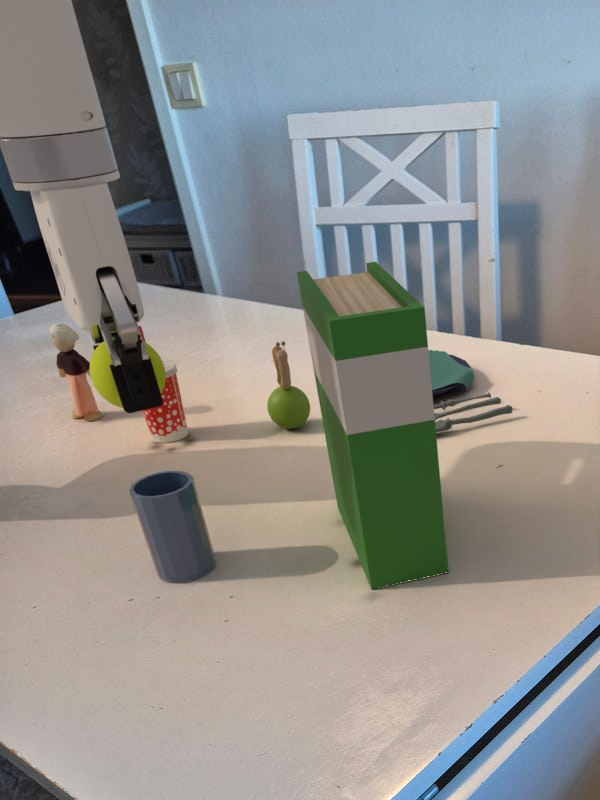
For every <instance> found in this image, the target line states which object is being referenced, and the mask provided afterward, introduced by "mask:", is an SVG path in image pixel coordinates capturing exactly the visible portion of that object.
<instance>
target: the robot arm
mask: <svg viewBox="0 0 600 800" xmlns="http://www.w3.org/2000/svg"><path fill="white" fill-rule="evenodd" d="M103 113H104V112H103V109H102V106H101V103H100V99H99V95H98V91H97V87H96V84H95V81H94V77H93V73H92V70H91V66H90V62H89V59H88V55H87V51H86V48H85V44H84V42H83V36H82V34H81V31H80V26H79V23H78V19H77V16H76V12H75V8H74V5H73V1H72V0H0V150H1V153H2V156H3V159H4V161H5V165H6V168H7V171H8V174H9V176H10V179H11V182H12V185H13V188H14V190H15V191H20V192H21V191H23V192H30V196H31V200H32V204H33V209H34V213H35V216H36V219H37V222H38V226H39V230H40V233H41V236H42V239H43V243H44V246H45V250H46V252H47V255H48V258H49V261H50V264H51V268H52V271H53V274H54V277H55V281H56V284H57V288H58V290H59V291H58V292H59V294H60V297H61V301H62V305H63V307H64V309H65V311H66V312H67V314H68V315H69V317H70V318H71V320H73V321H74V323H75V324H76V325H77V326H78V327H79V328H80V329H82V330H84V331H85V332H88V333H90V336H91V338H92V341H93V344H94V345H93V346H92V348H93V352H94V351H95V349H96V348H97V347H98V346H99V345H100V344H101V343H102V342H104V341H105V344H106V347H107V349H108V352H109V355H110V358H111V360H112V363H113V364H112V365H109V366H110V369H111V372H112V376H113V379H114V382H115V385H116V388H117V391H118V394H119V397H120V400H121V404H122V407H123V408H122V409H123V411H124V412H125V413H127V414H134V413H137V412H138V413H139V412H142V411H143V410H147V409H151V408H155V407H159V406H161V405H162V404H163V400H162V396H161V393H160V389H159V386H158V382H157V379H156V375H155V372H154V369H153V365H152V362H151V358H150V357H149V356H148V352H147V349H146V346H145V344H144V341H143V338H142V335H141V332H140V329H139V327H138V326H139V324H138V323H139V322H141V321H142V319H143V317H145V310H144V304H143V300H142V296H141V292H140V288H139V285H138V281H137V277H136V274H135V270H134V267H133V264H132V260H131V256H130V252H129V249H128V246H127V243H126V239H125V236H124V233H123V229H122V226H121V223H120V220H119V217H118V211H117V209H116V207H115V204H114V201H113V198H112V197H113V196H112V193H111V191H110V188H109V186H108V185H109V184H108V183H110V182H113V181H117V180H119V179H120V178H121V175H120V170H119V169H118V168H119V167H118V163H117V160H116V156H115V153H114V150H113V146H112V142H111V138H110V135H109V132H108V128H107V127H106V126H107V125H106V120H105V116H104V114H103ZM112 337H114V339H115V340H113V338H112Z"/></svg>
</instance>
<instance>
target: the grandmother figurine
mask: <svg viewBox="0 0 600 800" xmlns="http://www.w3.org/2000/svg"><path fill="white" fill-rule="evenodd" d="M48 331H49V334H50V336H51V337H52V342H53V345H54V347H55V348H56V350H58V351H59V352H58V353H57V354H56V367H57V371H58V376H59V377H60V378H66V380H67V381H68V385H69V390H70V394H71V400H72V403H73V404H72V405H73V408H74V411H72V413H71V418H72V419H82V418H83V419H84V421H85V422H94V421H97V420H99V419H100V418H102V417H103V416H104V413H103V412H102V411H101V410H99V407H98V404H97V402H96V398H95V395H94V392H93V389H92V387H91V385H90V384H89V382H88V379H87V375H88V376H89V377H90V379H91V376H90V361H88V360H87V358H86V357H84V356H83V355H82V354H80V353H79V352H78V351H77V350H75V346H76V342H77V340H79V338H80V335H79V334H78V333H77V332H76V331H75V330H74V329H73V328H71V327H70V326H69V325H67V324H66V323H65V324H64V323H55V324H52V325H51V326H50V327H49V330H48Z"/></svg>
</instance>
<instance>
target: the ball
mask: <svg viewBox="0 0 600 800" xmlns="http://www.w3.org/2000/svg"><path fill="white" fill-rule="evenodd" d="M112 338H113V340H115V339H114V337H112ZM144 344H145V346H146V349H147V352H148V356H149V357H150V358H151V362H152V365H153V369H154V372H155V375H156V379H157V382H158V386H159V389H160V393H162V391H163V389H164V386H165V379H166V374H165V368H164V365H163V362H162V360H163V359H162V357H161V356H160V355H159V353H158V352H157V350H156V349H154V348H153V346H152V345H150V344H149V343H147V342H144ZM98 345H99V346H98V347H97V348H96V349H95V351H94V350H93V352H92V354H91V357H90V361H89V362H90V376H91V378H90V380H91V382H92V385H93V387H94V389H95V390H96V392H97V393H98V394H99V396H101V397H102V399H104V400H105V401H107V402H108V403H109V404H111V405H113V406H115V407H118V408H121V409H123V407H122V404H121V400H120V397H119V394H118V391H117V388H116V385H115V382H114V379H113V376H112V372H111V369H110V366H109V365H112V364H113V363H112V360H111V358H110V355H109V352H108V349H107V347H106V344H105V341H104V342H102V343H100V344H98ZM90 376H89V377H90Z"/></svg>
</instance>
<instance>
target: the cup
mask: <svg viewBox="0 0 600 800" xmlns="http://www.w3.org/2000/svg"><path fill="white" fill-rule="evenodd" d="M128 491H129V494H130V498H131V501H132V503H133V507H134V510H135V513H136V515H137V518H138V521H139V525H140V527H141V530H142V534H143V537H144V539H145V543H146V546H147V548H148V552H149V555H150V558H151V561H152V564H153V567H154V570H155V572H156V574H157V576H158V578H159V579H160V580H162V581H163V582H167V583H170V584H172V583H173V584H181V583H189V582H192V581H196V580H199V579H201V578H203V577H205V576H207V575H208V574H210V573H211V572H212V571H213V570H214V568H215V567H216V564H217V559H216V554H215V551H214V547H213V544H212V539H211V537H210V533H209V530H208V529H209V528H208V526H207V522H206V519H205V516H204V512H203V508H202V505H201V500H200V498H199V494H198V490H197V487H196V483H195V480H194V477H193V476H192V475H191V474H190V473H189V472H186V471H182V470H165V471H158V472H154V473H150V474H147V475H145V476H143V477H140V478H138V479H137V480H135V481H134V482H133V483H132V484H131V485H130V487H129V490H128Z"/></svg>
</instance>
